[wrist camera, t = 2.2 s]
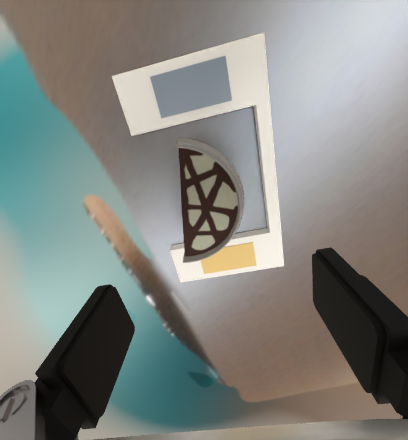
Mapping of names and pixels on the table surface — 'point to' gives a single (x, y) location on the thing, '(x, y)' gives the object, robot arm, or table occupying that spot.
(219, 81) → the label board
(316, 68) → the table surface
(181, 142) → the food container
